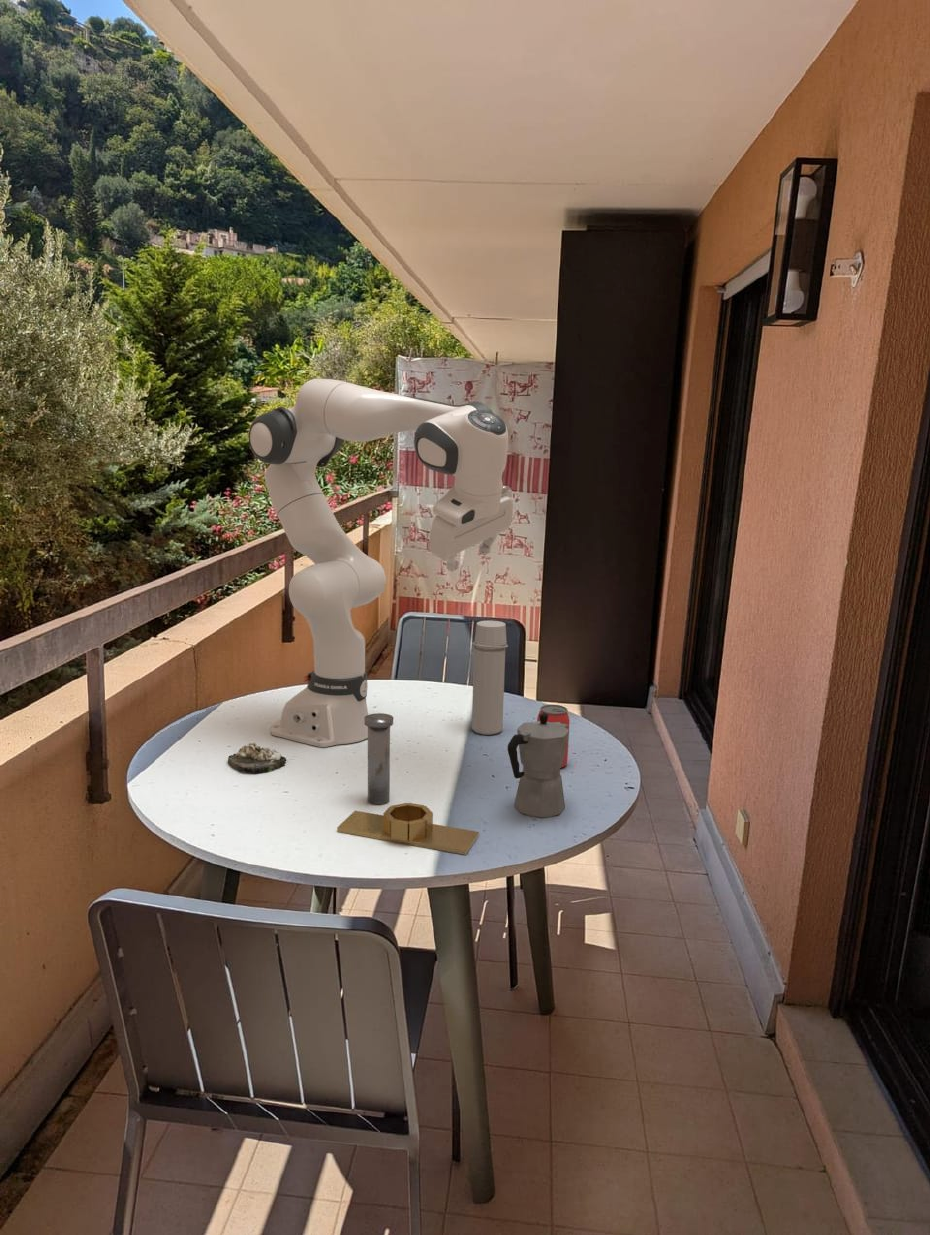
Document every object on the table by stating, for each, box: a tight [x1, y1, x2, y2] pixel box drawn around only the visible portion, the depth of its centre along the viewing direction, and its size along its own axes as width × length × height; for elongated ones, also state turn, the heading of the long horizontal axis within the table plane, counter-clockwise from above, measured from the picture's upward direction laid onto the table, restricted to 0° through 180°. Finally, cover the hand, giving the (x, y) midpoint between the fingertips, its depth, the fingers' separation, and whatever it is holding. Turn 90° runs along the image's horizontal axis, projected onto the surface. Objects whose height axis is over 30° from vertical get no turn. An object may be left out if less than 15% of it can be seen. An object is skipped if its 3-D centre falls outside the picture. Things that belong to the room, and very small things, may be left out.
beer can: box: [536, 704, 571, 769], centre depth 178 cm, size 7×7×12 cm
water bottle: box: [471, 620, 509, 736], centre depth 196 cm, size 9×8×25 cm
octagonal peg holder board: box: [336, 802, 480, 856], centre depth 147 cm, size 23×8×4 cm, turn 72°
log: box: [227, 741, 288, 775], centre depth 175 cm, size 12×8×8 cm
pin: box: [364, 712, 394, 806], centre depth 158 cm, size 5×5×16 cm
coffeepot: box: [507, 713, 570, 819], centre depth 156 cm, size 15×9×18 cm, turn 133°
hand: (468, 560), depth 169 cm, fingers open, 8 cm apart
